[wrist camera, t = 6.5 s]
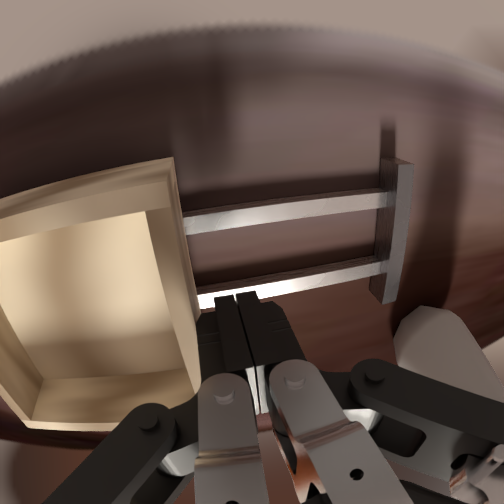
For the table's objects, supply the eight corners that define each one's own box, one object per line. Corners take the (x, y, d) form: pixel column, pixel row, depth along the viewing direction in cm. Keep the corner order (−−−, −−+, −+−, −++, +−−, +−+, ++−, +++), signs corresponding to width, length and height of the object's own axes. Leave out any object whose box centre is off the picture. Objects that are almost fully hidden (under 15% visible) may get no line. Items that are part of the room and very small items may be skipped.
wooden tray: (-19, 201, 11) (-82, 247, 6) (174, 151, 12) (166, 180, 8) (49, 359, 16) (28, 427, 11) (209, 342, 17) (221, 420, 12)
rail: (395, 148, 14) (419, 156, 13) (381, 293, 19) (397, 311, 17) (-75, 235, 11) (-93, 250, 9) (-21, 350, 15) (-31, 369, 13)
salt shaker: (399, 364, 23) (479, 482, 11) (371, 338, 20) (470, 487, 9) (450, 316, 22) (545, 422, 10) (430, 281, 19) (555, 408, 8)
